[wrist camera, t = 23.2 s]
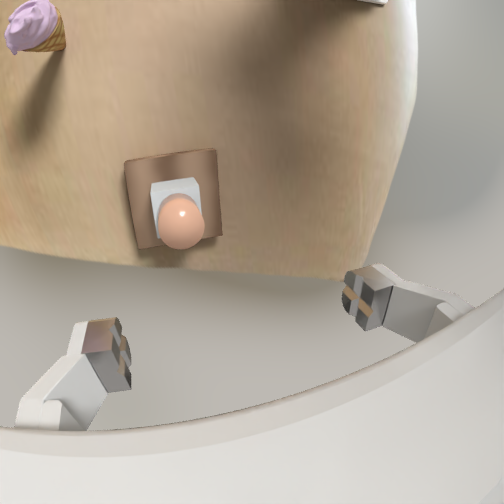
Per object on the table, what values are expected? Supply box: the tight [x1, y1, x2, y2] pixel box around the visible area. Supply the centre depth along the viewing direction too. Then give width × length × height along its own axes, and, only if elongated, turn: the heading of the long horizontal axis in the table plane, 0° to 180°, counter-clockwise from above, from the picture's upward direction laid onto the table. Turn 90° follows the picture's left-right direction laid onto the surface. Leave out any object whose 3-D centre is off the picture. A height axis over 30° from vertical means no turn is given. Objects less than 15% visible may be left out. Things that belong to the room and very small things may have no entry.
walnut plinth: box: [124, 148, 223, 249], centre depth 38 cm, size 12×12×3 cm
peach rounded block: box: [158, 193, 205, 249], centre depth 30 cm, size 5×5×5 cm
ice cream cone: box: [4, 0, 66, 55], centre depth 18 cm, size 7×6×15 cm
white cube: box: [150, 177, 202, 239], centre depth 34 cm, size 6×6×6 cm
